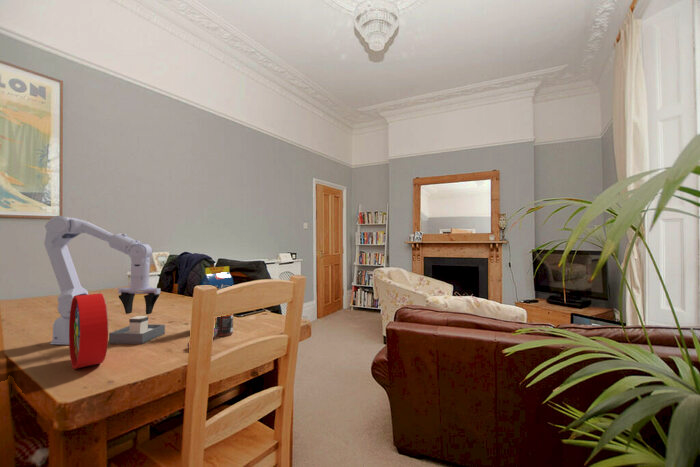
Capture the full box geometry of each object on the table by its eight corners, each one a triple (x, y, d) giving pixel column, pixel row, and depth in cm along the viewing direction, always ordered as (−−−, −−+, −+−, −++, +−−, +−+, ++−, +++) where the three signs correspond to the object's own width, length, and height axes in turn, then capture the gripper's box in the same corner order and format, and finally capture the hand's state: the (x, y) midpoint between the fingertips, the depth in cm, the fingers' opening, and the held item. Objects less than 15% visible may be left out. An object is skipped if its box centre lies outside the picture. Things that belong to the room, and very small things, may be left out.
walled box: (108, 343, 107) (109, 333, 108) (134, 333, 119) (134, 324, 120) (142, 344, 107) (142, 333, 107) (164, 333, 119) (164, 324, 119)
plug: (128, 338, 111) (129, 318, 112) (137, 334, 116) (137, 315, 116) (139, 338, 111) (140, 318, 111) (147, 335, 115) (148, 316, 116)
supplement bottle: (236, 333, 120) (236, 304, 120) (222, 337, 115) (223, 307, 115) (226, 331, 123) (227, 302, 123) (212, 335, 118) (213, 305, 118)
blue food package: (198, 329, 125) (200, 267, 126) (222, 322, 136) (224, 265, 137) (209, 331, 123) (210, 268, 123) (233, 324, 133) (234, 266, 134)
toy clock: (67, 358, 93) (70, 291, 94) (92, 353, 98) (95, 289, 98) (78, 378, 80) (81, 300, 81) (106, 371, 84) (109, 297, 85)
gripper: (166, 275, 118) (165, 311, 117) (129, 274, 118) (127, 310, 118) (153, 277, 111) (152, 315, 110) (114, 276, 111) (112, 315, 111)
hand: (138, 313), depth 113 cm, fingers open, 7 cm apart
